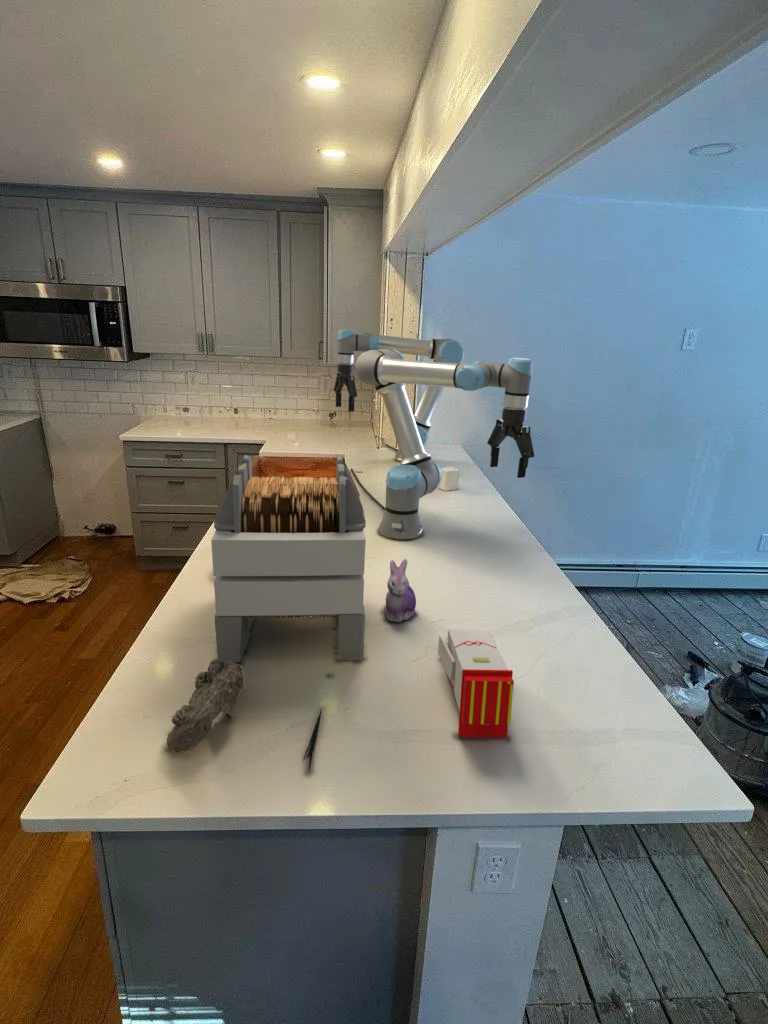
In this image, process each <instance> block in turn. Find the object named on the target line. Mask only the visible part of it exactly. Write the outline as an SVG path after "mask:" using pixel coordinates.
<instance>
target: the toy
mask: <svg viewBox="0 0 768 1024" xmlns="http://www.w3.org/2000/svg"><path fill="white" fill-rule="evenodd" d="M446 640H447V643H446V641H445V639H444V636H443V635H442V634H439V637H438V646H437V656H438V657H439V659H440V661H441V663H442V666H443V668H444V670H445V672H446V674H447V677H448V679H449V681H450V684H451V687H452V690H453V693H454V697H455V701H456V705H457V708H458V711H459V714H458V715H459V716H458V730H457V731H458V732H457V737H458V738H508V731H509V726H510V725H511V717H512V707H513V697H514V696H513V695H514V684H515V680H514V679H513V673H514V671H513V670H512V669H508V667H507V665H506V662H505V661H504V659H503V658H502V655H501V653H500V651H499V649H498V647H497V643H496V639H495V637H494V635H493V634H491V632H490V631H489V629H467V628H466V629H465V628H463V629H461V628H460V629H459V628H448V630H447V639H446Z"/></svg>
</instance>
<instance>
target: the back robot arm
mask: <svg viewBox="0 0 768 1024" xmlns="http://www.w3.org/2000/svg"><path fill="white" fill-rule="evenodd" d="M337 333H338V334H337V363H338V364H337V372H336V377H335V382H334V385H333V392H334V393H335V408H339V407H340V408H341V407H342V393H343V391H342V390H343V387H344V386H345V387H346V389H347V392H348V395H349V396H348V410H347V411H348V412H349V413H350V412H355V398H357V397H358V392H357V387H356V381H355V375H351V374H353V373H354V366H355V365H354V362H355V361H354V359H355V352H363V353H364V352H366V351H369V350H381V349H394V350H397V351H399V352H400V353H401V354H402V355H411V356H420V357H427V358H428V359H429V360H433V361H432V362H445V363H459V364H462V362H463V360H464V357H465V349H464V347H463V345H462V344H461V343H460V341H458V340H456V339H452V338H431V339H428V340H427V339H419V338H410V337H401V336H391V335H383V334H375V333H374V334H373V333H368V332H365V333H363V334H357V333H355V330H354V329H344V328H343V329H339V330H338V332H337ZM445 388H446V387H440V386H428V385H425V387H424V389H423V392H422V394H421V396H420V398H419V400H418V403H417V405H416V408H415V410H414V412H413V416H414V419H415V422H416V426H417V429H418V432H419V435H420V438H421V441H422V445H423V446H424V445H425V444H426V442H427V439H428V434H429V431H430V429H431V427H432V423H431V420H432V417H433V415H434V413H435V410H436V408H437V406H438V403H439V401H440V399H441V396H442V395H443V392H444V390H445ZM375 437H377V435H375ZM387 444H388V443H387ZM387 444H385V446H386V447H387V448H389V449H391V450H393V451H395V452H396V454H395V457H394V458H395V461H396V462H399V463H401V461H402V456H401V453H400V450H399V447H398V448H395V447H393V446H392V445H389V444H388V445H389V446H388V445H387Z"/></svg>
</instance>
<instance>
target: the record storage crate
mask: <svg viewBox="0 0 768 1024" xmlns="http://www.w3.org/2000/svg"><path fill="white" fill-rule="evenodd" d="M252 461H253V460H252V455H246V454H244V455H243V457H242V460H241V461H240V463H239V465H238V467H237V469H236V471H235V474H234V475H233V477H232V479H231V481H230V483H229V485H228V488H227V491H226V492H225V495H224V497H223V499H222V501H221V504H220V506H219V508H218V510H217V513H216V515H215V517H214V519H213V520H214V521H213V528H214V529H215V530H214V533H213V535H212V537H211V540H210V543H211V558H212V572H213V573H212V575H213V577H215V578H214V581H213V588H214V589H213V591H214V605H215V614H214V630H215V632H214V633H215V644H216V653H217V659H215V660H217V661H222V662H223V661H224V660H227V659H228V660H231V659H232V660H234V661H235V662H236V663H241V660H242V657H243V655H244V652H245V649H246V647H247V644H248V641H249V639H250V634H249V633H250V631H249V629H251V628H252V624H253V619H292V618H293V619H294V618H295V619H300V618H302V619H305V618H306V619H307V618H335V627H336V648H337V649H336V651H337V660H338V661H347V660H348V661H349V660H351V661H352V660H354V661H361V660H362V659H364V657H365V629H366V627H365V626H366V625H365V624H366V613H365V606H364V594H365V593H364V591H365V578H364V575H365V562H366V561H365V559H366V535H365V531H364V529H365V528H366V517H365V512H364V507H363V506H364V505H363V503H362V499H361V494H360V492H359V489H358V487H357V485H356V483H355V481H354V479H353V476H352V474H351V472H350V470H349V468H348V465H347V463H346V461H345V459H344V456H340V455H336V471H335V472H336V475H335V476H336V477H329V478H328V477H326V476H325V477H319V478H315V477H313V476H310V477H309V476H293V477H291V478H290V477H289V478H288V476H287V477H285V476H281V477H280V476H262V477H259V476H253V462H252Z"/></svg>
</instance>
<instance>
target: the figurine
mask: <svg viewBox="0 0 768 1024" xmlns="http://www.w3.org/2000/svg"><path fill="white" fill-rule="evenodd" d="M407 567H408V559H406V558H404V559H403V560H402V561H401V563H400V565H399V566H398V565H397V563H396V562H395V561H394V560H393V559H391V560H390V561H389V570H390V576H389V578H388V579H387V589H388V591H387V592H386V594H385V595H386V596H385V607H384V615H385V616H386V620H387V621H391V622H395V623H400V622H402V621H406V620H409V619H410V618H411V617H413V616H414V615H415V610H416V606H417V597H416V593H415V591H414V590H413V587H411V586H410V582H409V579H408V577H407V574H406V571H407Z"/></svg>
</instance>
